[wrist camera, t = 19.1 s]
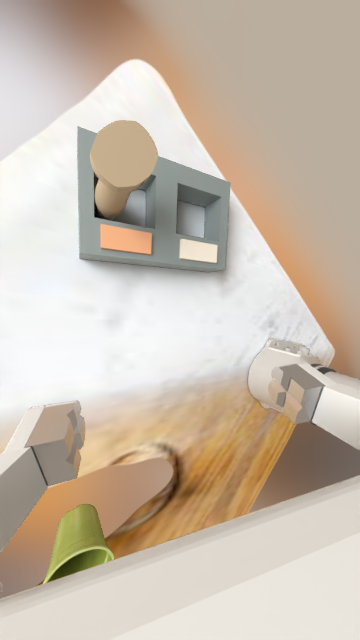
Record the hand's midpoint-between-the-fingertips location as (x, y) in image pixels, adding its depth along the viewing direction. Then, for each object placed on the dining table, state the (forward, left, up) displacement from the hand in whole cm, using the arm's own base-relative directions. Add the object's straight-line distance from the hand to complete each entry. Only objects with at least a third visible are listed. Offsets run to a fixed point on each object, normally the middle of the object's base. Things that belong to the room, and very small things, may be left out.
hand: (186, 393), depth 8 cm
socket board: (-9, -17, -28) cm, 34 cm away
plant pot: (+4, +35, -29) cm, 46 cm away
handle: (0, -17, -29) cm, 33 cm away
